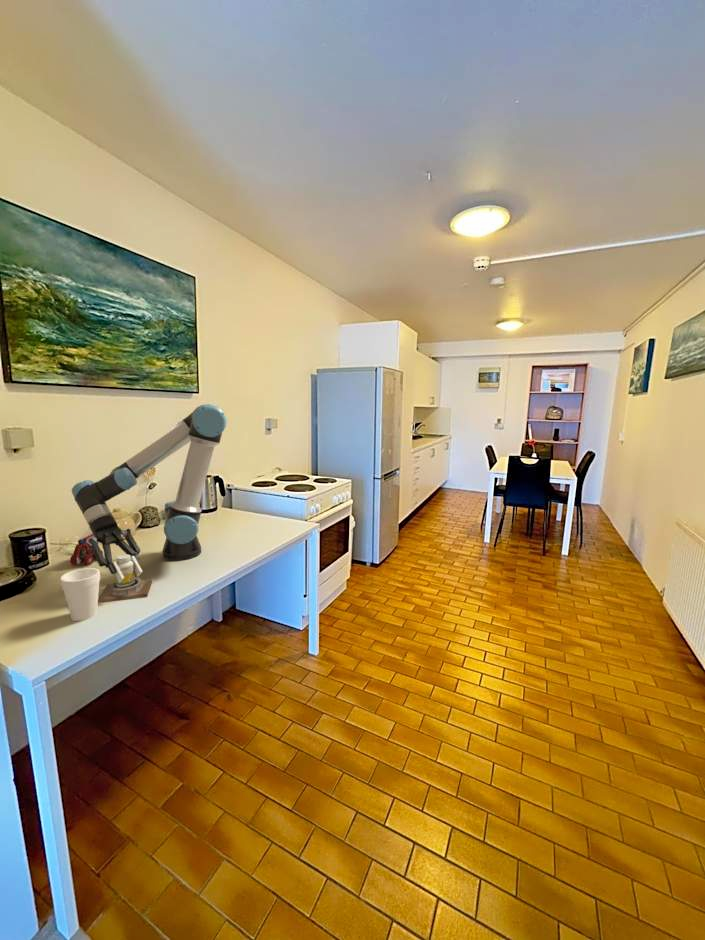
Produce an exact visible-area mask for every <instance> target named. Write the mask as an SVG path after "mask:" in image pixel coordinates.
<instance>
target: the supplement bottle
mask: <svg viewBox="0 0 705 940" xmlns="http://www.w3.org/2000/svg"><path fill="white" fill-rule="evenodd" d="M116 563H117V565H118V567H119V569H120V570H121V572H122V574H123V576H124V580H123V581H122V582H121V583H119V581H118V580H117V578H116V577H115V581H116V585H117V586H119V587H125V586H129V585H131V584H133V583H134V577H135V571H134V566H133V562H132V561H131V556H130V555H128V554H126V553H124V554H120V555H117V556H116Z"/></svg>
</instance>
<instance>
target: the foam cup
mask: <svg viewBox="0 0 705 940" xmlns="http://www.w3.org/2000/svg"><path fill="white" fill-rule="evenodd" d="M100 580H101V573H100V569H99V568H95V567H86V568H78V569H75V570H70V571H69V572H66V573H64V574H63V575H61V576H60V583H61V584H60V585H61V588H62V590H63V592H64V596H65V600H66V603H67V607H68V612H69V614H70V618H71V620H72V621H74V622H82V621H86V620H90V619H92V618H93V617H95V616H96V615H97V614H98V605H99V604H98V599H99V593H100V592H99V590H100Z"/></svg>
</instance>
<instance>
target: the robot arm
mask: <svg viewBox="0 0 705 940" xmlns="http://www.w3.org/2000/svg"><path fill="white" fill-rule="evenodd" d="M226 427H227V417H226V415H225V413H224V411H223V410H222V409H221V408H220V407H218V406H217V405H214V404H209V403H206V404H202V405H199V406H197V407H196V408H195V409H194V410H193V411H192V412H190V414H188V416H186V417H185V418H183V419H182V420H181V422H180V424H179V425H177V426H176V427H174V428H173V429H172V430H169V432H167V433H166V434H164V435H163V436H161V437H160V438H158V439H157V440H155V441H154V442H152V443H151V444H150V445H148V446H146V447H145V448H144V449H142V450H141V451H139V452H138V453H136V454H135V455H134V456H132V457H130V458H129V459H128V460H126V461H124V462H123V463H121V464H120V465H119V466H116V467H115V468H113V469H111V472H110V473H109V474H108V475H106V476H105V477H103V478H101V479H99V480H98V481H96V482H94V481H93V480H89V479H87V480H83V481H79V482H77V483H76V484H74V485H73V487H72V488H71V493H72V496H73V498H74V501H75V502H76V504H77V506H78V508H79V509H80V512H81V513H82V515H83V517H84V519H85V522H86V523H87V525H89V530H90V531H91V532H92V534H94V538H90V539H89V540H88V542H87V545H88V546H89V547H90V548H91V549H92V551H93V553H94V555H95V557H96V560H95V561H96V562H97V564H98V566H99V567H101V568H102V567H105V568H107V569H108V570H109V573H110V574H111V575H115V579H116V578H117V580H118V581H119V583H121V582H122V581H123V580H124V576H123V574H122V572H121V570H120V569H119V567H118V565H117V560H116V561H113V555H112V548H111V545H116V546H117V547H119V549H120V550H122V551H123V552H124V554H128V555H130V556H131V561H132V562H133V566H134V573H135V574H136V576H137V577H139V576H141V574H142V573H143V569H142V568H141V566H140V564H141V560H139V557H138V556H139V554H140V553H141V548H140V547H139V545H138V544H137V541H136V539H135V538H134V537H133V535H132V533H131V531H132V530H131V528H127V529H125V530H123V529H122V528H120V527H119V525H118V523H117V521H116V520H115V517H114V516H113V514H112V511H111V510H110V508H109V507H108V504H107V502H108V501H110V500H111V499H113V498H115V497H117V496H118V495H120V494H122V493H124V492H126V491H128V490H131V489H132V488H133V487H134V486H136V485H137V483H138V480H137V479H138V478H139V477H141V476H143V475H144V474H145V473H147V472H148V471H149V470H151V469H153V468H154V467H155V466H157V465H158V464H160V463H161V462H163V461H164V460H165V459H167V458H169V457H170V456H172V454H174V453H176V452H178V451H179V450H180V449H181V448H183V447H184V446H186V445H188V444H189V447H188V452H187V455H186V459H185V463H184V467H183V469H182V474H181V479H180V481H179V486H178V490H177V494H176V497H175V500H173V501H167V502H166V503H165V504H164V509H163V511H164V526H163V533H164V535H165V541H164V545H163V549H162V558H163V559H164V560H169V561H185V560H189V559H192V558H196V557H198V556H199V555H200V554H202V545H201V543H200V541H199V538H198V536H197V535H198V532H199V522H200V518H201V514H202V511H203V509H202V508H201V507H200V502H201V499H202V494H203V491H204V487H205V483H206V479H207V475H208V471H209V468H210V465H211V460H212V456H213V452H214V450H215V447H216V446H217V445H220V442H221V440H222V439H221V438H222V435H223V432H224V431H225V429H226ZM122 536H123V537H122ZM124 539H125V540H124ZM97 541H98V544H97ZM99 543H100V544H101V545H102V549H103V551H102V550H101V547H100V546H99ZM101 551H102V552H103V554H102V552H101Z"/></svg>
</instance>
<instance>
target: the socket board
mask: <svg viewBox="0 0 705 940" xmlns="http://www.w3.org/2000/svg"><path fill="white" fill-rule="evenodd" d="M152 584H153V579H145V580H142V578H140V577H135V576H134V583H133V584H131V585H129V586H125V587H119V586H117V585H116V580H115V581H114V582H112V583H108V584H106V586H105V587H104V589H103V590H102V592H101V594H100V596H98V603H105V602H107V603H108V602H113V601H114V602H115V601H121V600H122V601H123V600H129V599H138V598H145V597H146V598H147V597H148V595H149V592H150V590H151V587H152Z"/></svg>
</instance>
